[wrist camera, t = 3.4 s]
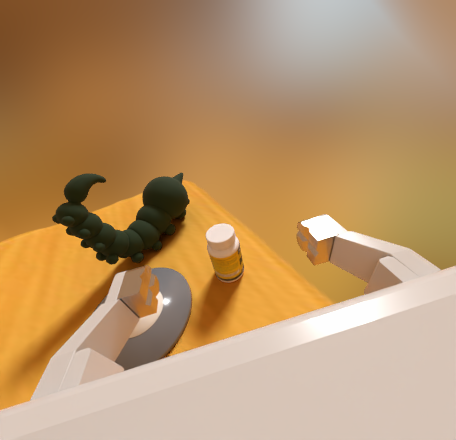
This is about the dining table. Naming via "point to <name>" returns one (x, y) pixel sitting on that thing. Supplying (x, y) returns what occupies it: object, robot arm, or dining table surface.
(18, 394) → the dining table surface
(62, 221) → the toy figurine
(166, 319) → the charcoal plate
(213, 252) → the supplement bottle
